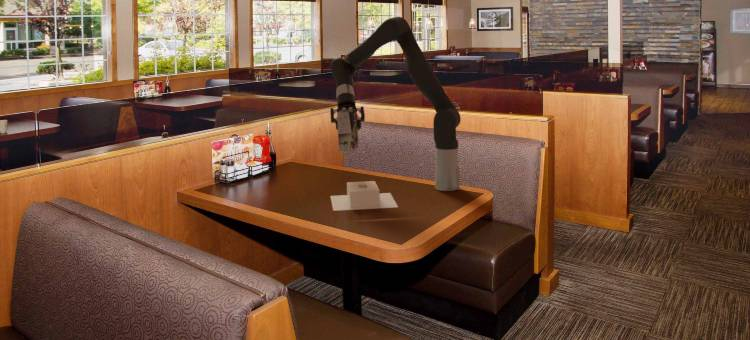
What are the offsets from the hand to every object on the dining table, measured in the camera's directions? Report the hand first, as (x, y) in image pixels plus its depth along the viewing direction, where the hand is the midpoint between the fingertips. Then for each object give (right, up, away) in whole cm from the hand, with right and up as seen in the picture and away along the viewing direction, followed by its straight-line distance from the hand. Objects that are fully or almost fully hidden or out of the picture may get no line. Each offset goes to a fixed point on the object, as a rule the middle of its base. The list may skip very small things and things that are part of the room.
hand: (348, 129), depth 249 cm
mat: (+6, -29, -14) cm, 33 cm away
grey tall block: (0, -8, +1) cm, 8 cm away
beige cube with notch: (+6, -28, -14) cm, 32 cm away
